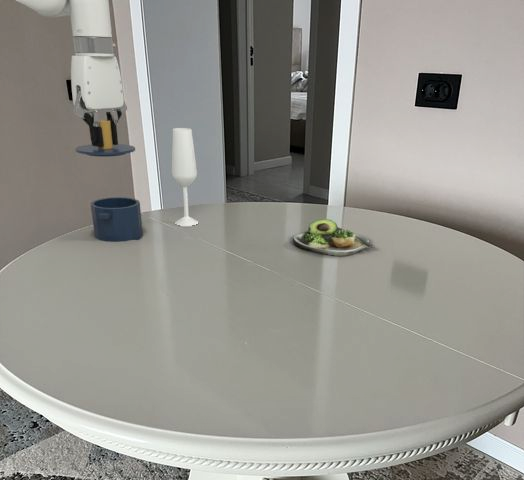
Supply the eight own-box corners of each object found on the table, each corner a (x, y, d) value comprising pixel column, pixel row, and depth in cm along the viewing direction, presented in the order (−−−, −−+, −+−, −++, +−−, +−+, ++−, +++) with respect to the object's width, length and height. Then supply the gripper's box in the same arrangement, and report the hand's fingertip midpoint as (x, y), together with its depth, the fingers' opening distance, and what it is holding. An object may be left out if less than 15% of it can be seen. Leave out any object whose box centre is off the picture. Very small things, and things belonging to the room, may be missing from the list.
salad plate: (389, 246, 132) (391, 227, 130) (351, 264, 120) (353, 244, 117) (324, 230, 142) (325, 213, 140) (283, 245, 130) (284, 227, 128)
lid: (66, 156, 111) (61, 122, 108) (89, 147, 122) (85, 116, 119) (124, 159, 110) (121, 124, 107) (143, 150, 121) (140, 118, 118)
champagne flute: (172, 220, 148) (166, 127, 136) (195, 219, 150) (192, 127, 138) (177, 227, 142) (171, 131, 131) (201, 225, 144) (198, 130, 133)
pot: (83, 246, 127) (78, 210, 123) (108, 226, 142) (104, 193, 138) (131, 248, 126) (127, 212, 122) (150, 228, 141) (148, 195, 137)
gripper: (114, 48, 114) (122, 139, 123) (46, 46, 103) (62, 147, 112) (137, 49, 111) (145, 143, 119) (70, 47, 99) (84, 151, 108)
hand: (105, 144), depth 115 cm, fingers closed on lid, 3 cm apart
